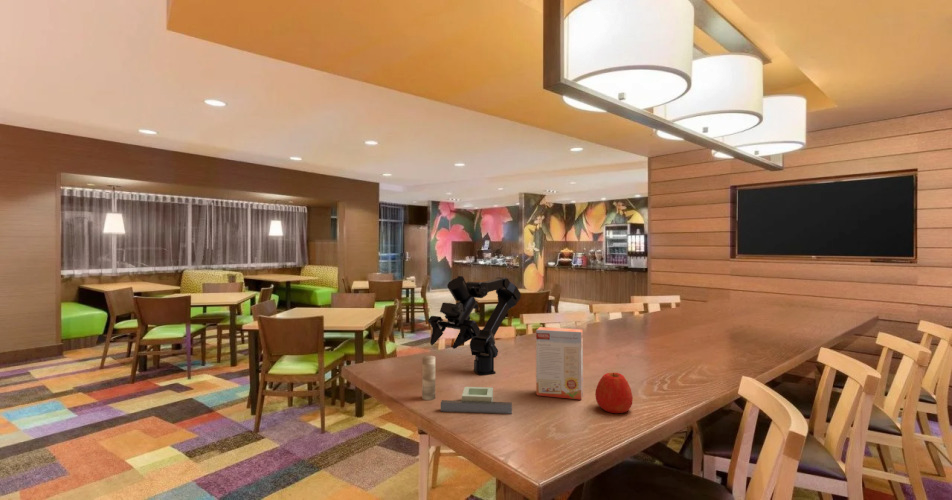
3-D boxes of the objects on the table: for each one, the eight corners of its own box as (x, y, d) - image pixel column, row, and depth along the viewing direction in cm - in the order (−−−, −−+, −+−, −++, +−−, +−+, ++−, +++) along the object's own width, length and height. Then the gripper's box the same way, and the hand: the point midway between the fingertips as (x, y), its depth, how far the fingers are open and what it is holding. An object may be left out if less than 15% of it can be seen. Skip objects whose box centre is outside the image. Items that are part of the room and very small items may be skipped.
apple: (607, 400, 133) (607, 366, 133) (639, 409, 125) (639, 373, 125) (588, 408, 126) (588, 372, 126) (621, 418, 118) (622, 380, 118)
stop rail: (441, 408, 125) (441, 400, 125) (511, 411, 123) (511, 402, 123) (440, 411, 123) (440, 402, 123) (511, 413, 121) (511, 404, 121)
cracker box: (583, 394, 138) (583, 328, 138) (581, 400, 132) (581, 331, 132) (539, 389, 142) (539, 325, 142) (535, 395, 137) (535, 329, 137)
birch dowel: (433, 395, 137) (433, 355, 137) (436, 399, 133) (437, 358, 133) (420, 396, 135) (420, 356, 135) (424, 400, 131) (424, 359, 131)
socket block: (464, 399, 133) (464, 386, 133) (492, 400, 133) (492, 387, 133) (461, 410, 125) (461, 396, 125) (491, 411, 124) (491, 396, 124)
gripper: (432, 292, 152) (409, 327, 142) (476, 295, 141) (454, 333, 132) (445, 313, 158) (424, 348, 148) (489, 318, 147) (469, 356, 138)
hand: (442, 346), depth 141 cm, fingers open, 9 cm apart
